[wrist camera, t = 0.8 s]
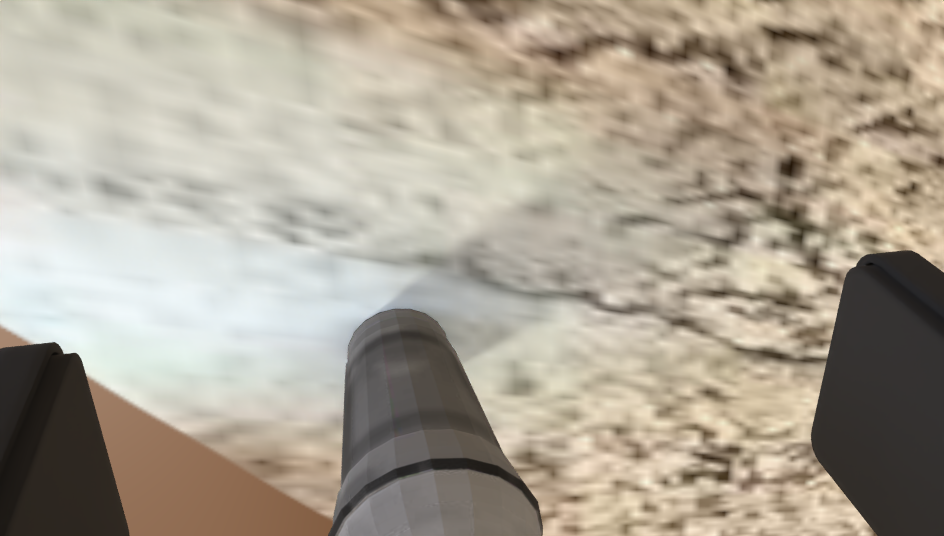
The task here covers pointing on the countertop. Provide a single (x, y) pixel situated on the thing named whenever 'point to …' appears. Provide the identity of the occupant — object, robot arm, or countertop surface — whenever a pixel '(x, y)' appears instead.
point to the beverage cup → (421, 442)
